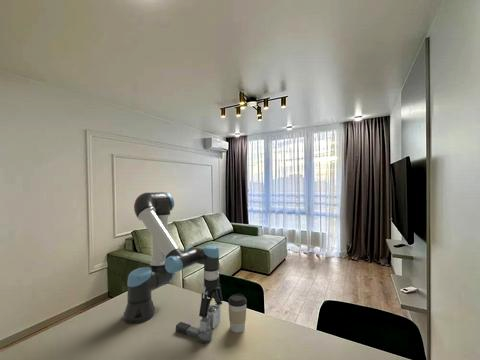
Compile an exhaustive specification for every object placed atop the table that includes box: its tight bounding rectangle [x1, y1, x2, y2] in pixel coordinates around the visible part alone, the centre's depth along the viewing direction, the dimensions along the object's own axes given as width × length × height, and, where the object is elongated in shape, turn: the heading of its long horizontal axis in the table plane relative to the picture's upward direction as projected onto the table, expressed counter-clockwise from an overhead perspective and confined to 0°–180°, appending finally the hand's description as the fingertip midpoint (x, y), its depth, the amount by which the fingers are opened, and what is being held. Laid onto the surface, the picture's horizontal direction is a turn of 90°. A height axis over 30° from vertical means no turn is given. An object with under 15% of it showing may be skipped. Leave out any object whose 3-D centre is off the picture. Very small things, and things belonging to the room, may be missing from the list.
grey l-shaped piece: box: [175, 317, 213, 345], centre depth 103 cm, size 18×6×8 cm, turn 64°
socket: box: [207, 304, 221, 330], centre depth 112 cm, size 6×6×8 cm
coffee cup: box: [227, 292, 248, 334], centre depth 109 cm, size 9×9×15 cm
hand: (211, 323), depth 112 cm, fingers open, 10 cm apart
